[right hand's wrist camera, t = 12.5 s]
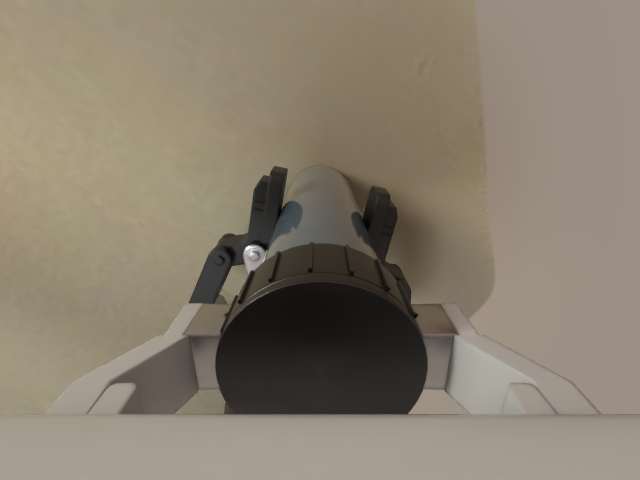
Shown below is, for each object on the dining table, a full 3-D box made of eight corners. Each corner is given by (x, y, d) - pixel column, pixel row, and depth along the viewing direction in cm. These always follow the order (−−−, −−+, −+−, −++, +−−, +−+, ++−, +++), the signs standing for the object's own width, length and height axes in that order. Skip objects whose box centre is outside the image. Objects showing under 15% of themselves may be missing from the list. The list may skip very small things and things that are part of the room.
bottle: (274, 197, 24) (194, 359, 9) (321, 151, 23) (325, 244, 8) (319, 240, 26) (318, 450, 10) (365, 199, 25) (447, 364, 9)
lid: (198, 326, 11) (168, 381, 8) (313, 200, 9) (311, 229, 7) (326, 412, 12) (327, 478, 10) (444, 314, 10) (476, 367, 8)
